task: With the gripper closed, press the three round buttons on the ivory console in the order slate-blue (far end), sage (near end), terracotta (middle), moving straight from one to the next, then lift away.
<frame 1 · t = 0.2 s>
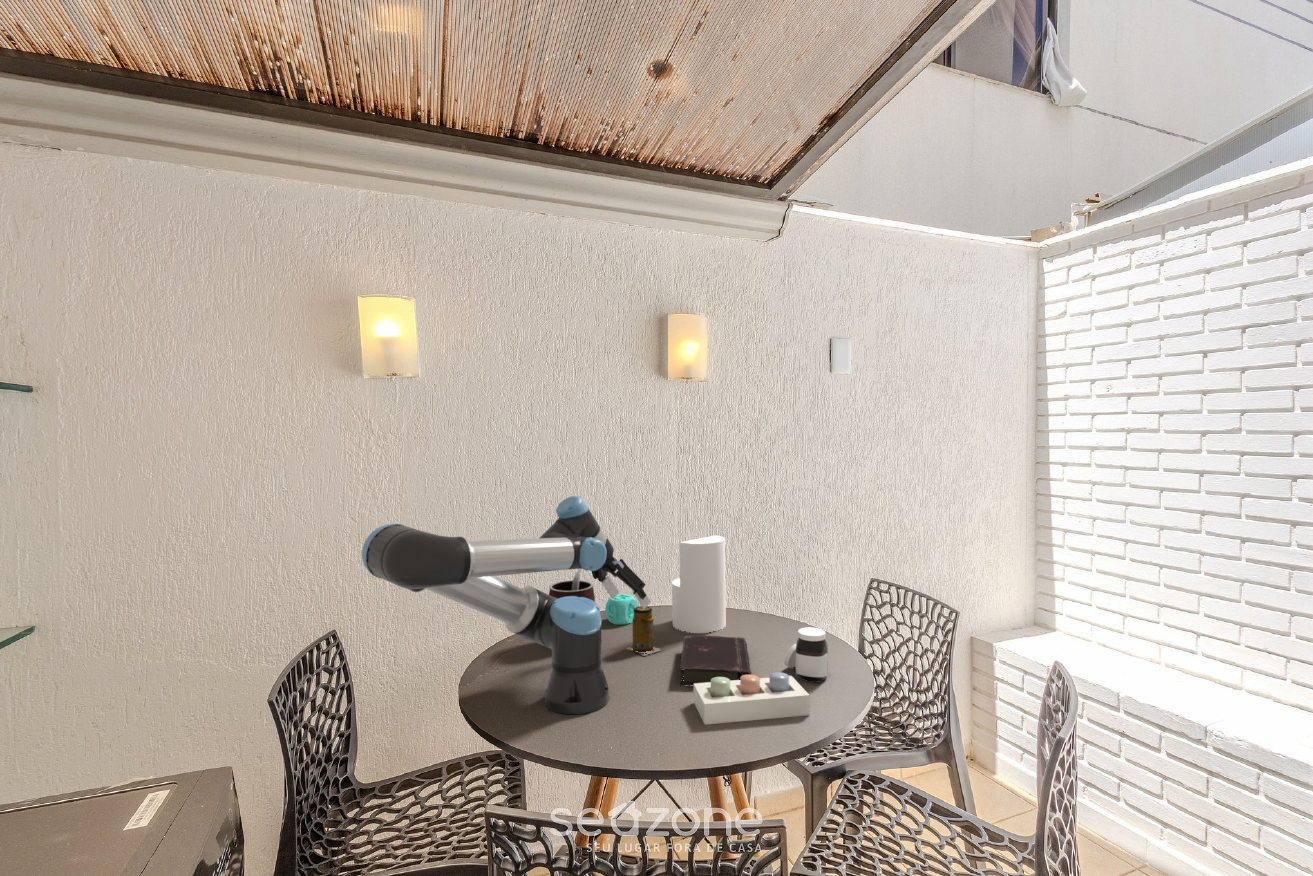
hand: (630, 600, 179), 15 cm above the table, tool tilted 35°, fingers open, 13 cm apart
cylinder: (699, 625, 205), on the table
decorative dice: (621, 621, 210), on the table
console: (750, 708, 144), on the table
slate button: (779, 683, 145), point 5 cm above the table, slide at 0.0 cm
terracotta button: (750, 685, 144), point 5 cm above the table, slide at 0.0 cm
spread jar: (805, 675, 164), on the table
sage button: (720, 688, 143), point 5 cm above the table, slide at 0.0 cm
diary: (714, 669, 169), on the table
condiment: (644, 650, 183), on the table
mate gourd: (573, 641, 191), on the table
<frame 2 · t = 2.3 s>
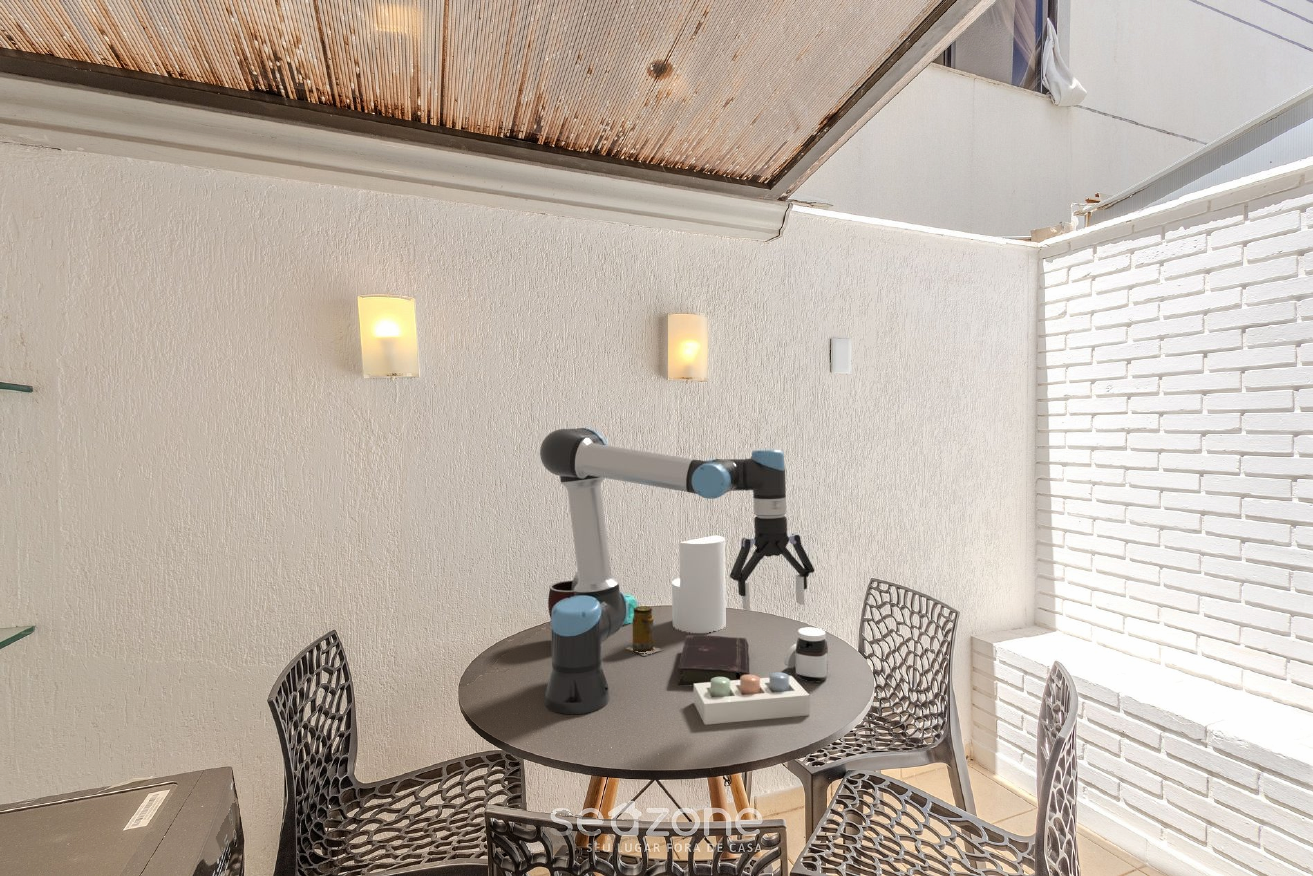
hand: (773, 606, 147), 22 cm above the table, tool pointing down, fingers open, 13 cm apart
nothing on the table moved.
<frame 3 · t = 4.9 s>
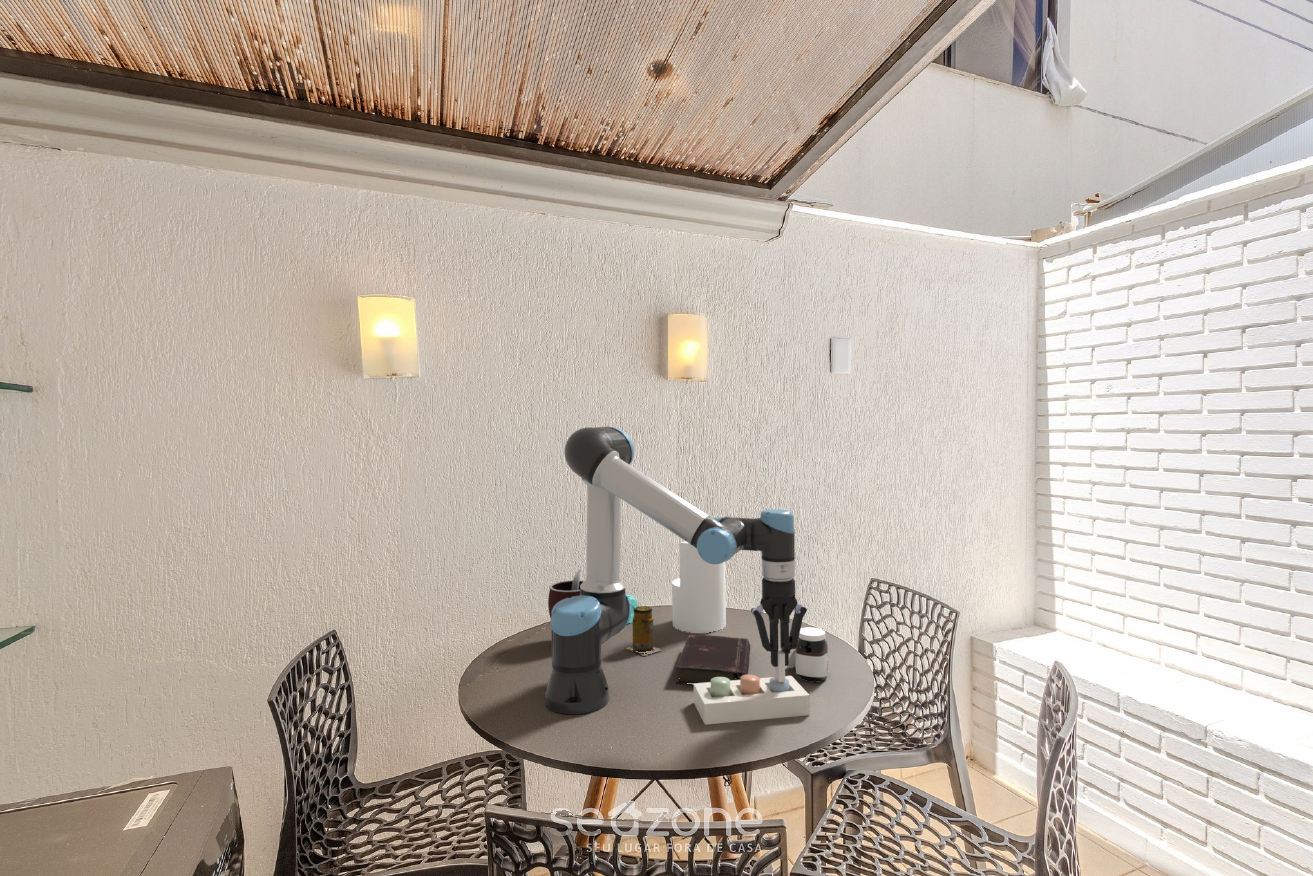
hand: (780, 679, 145), 6 cm above the table, tool pointing down, fingers closed
slate button: (779, 688, 145), point 4 cm above the table, slide at 1.1 cm, touching gripper
everything else where it was.
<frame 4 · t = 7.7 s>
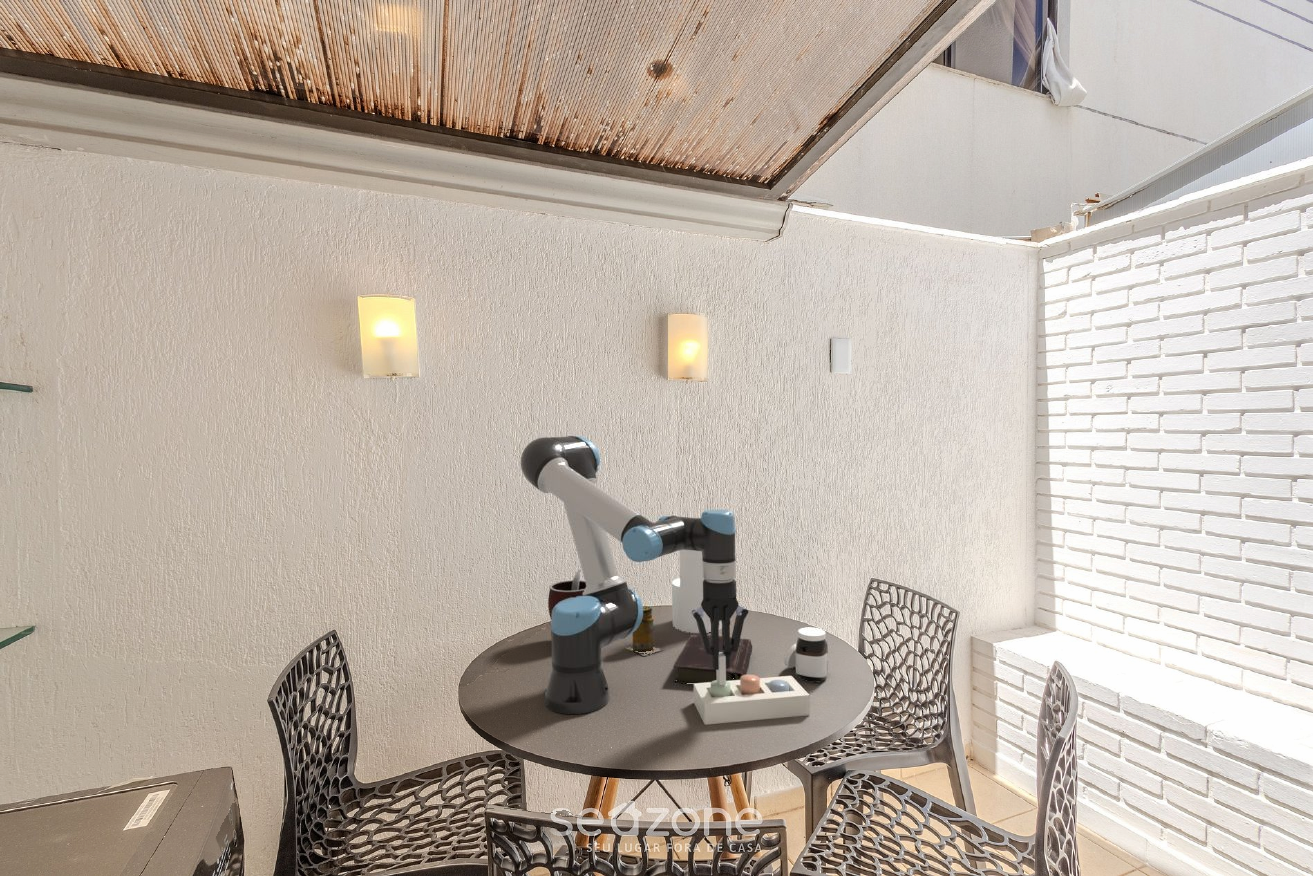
hand: (721, 682, 143), 7 cm above the table, tool pointing down, fingers closed
slate button: (779, 691, 145), point 4 cm above the table, slide at 1.8 cm
sage button: (720, 691, 143), point 5 cm above the table, slide at 0.7 cm, touching gripper
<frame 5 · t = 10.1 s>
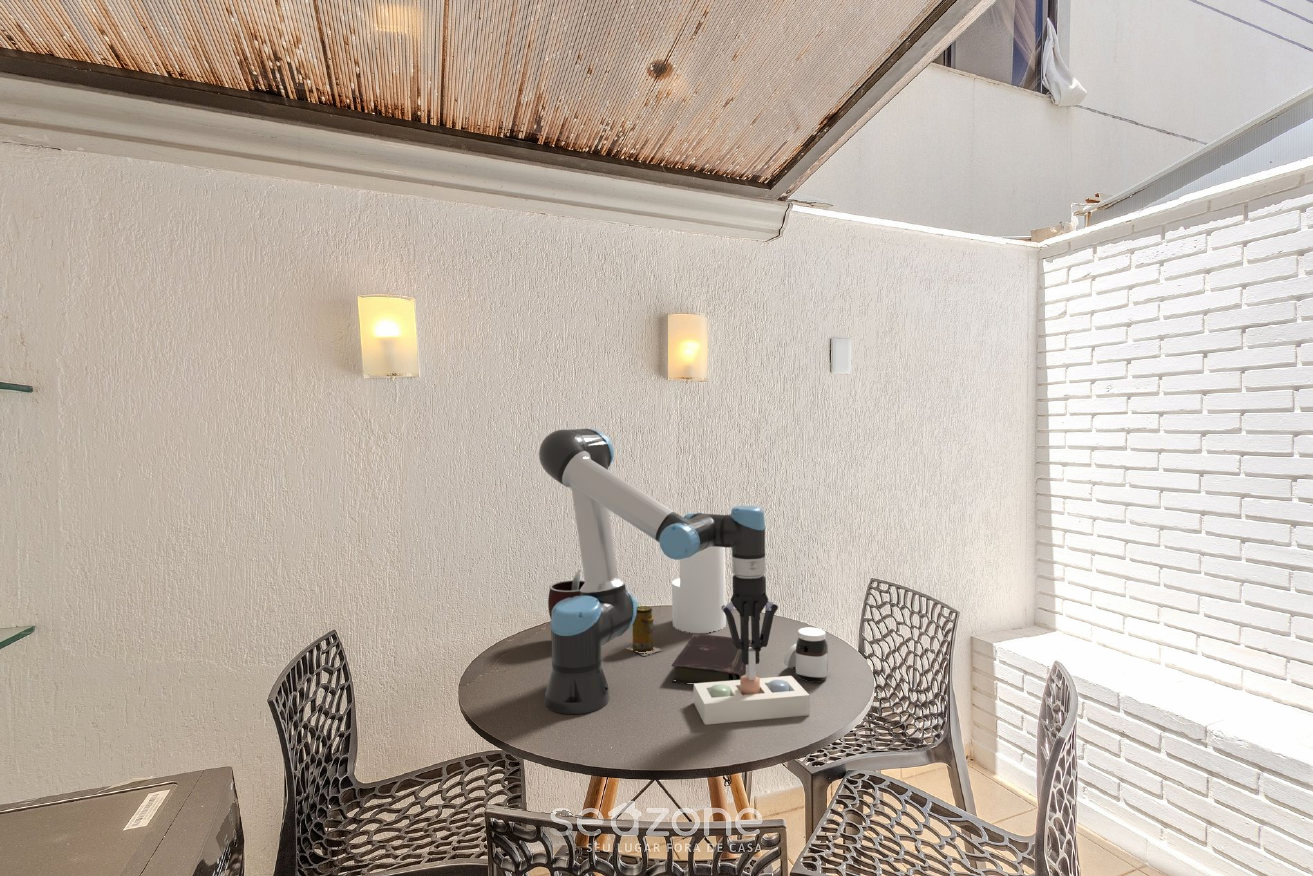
hand: (750, 677, 144), 7 cm above the table, tool pointing down, fingers closed
terracotta button: (750, 686, 144), point 5 cm above the table, slide at 0.1 cm, touching gripper
sage button: (720, 696, 143), point 4 cm above the table, slide at 1.8 cm
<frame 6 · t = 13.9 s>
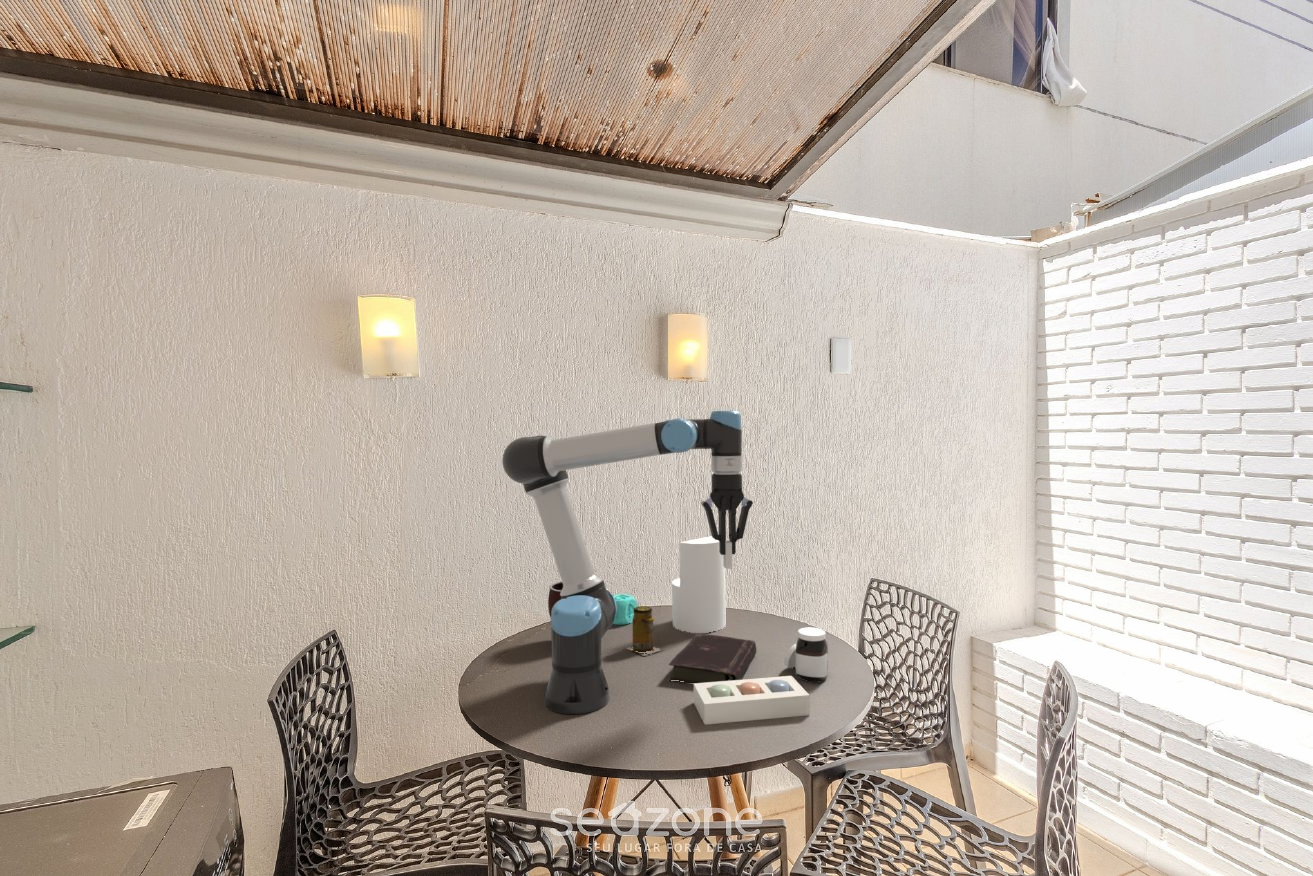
hand: (727, 567, 157), 29 cm above the table, tool pointing down, fingers closed
terracotta button: (750, 693, 144), point 4 cm above the table, slide at 1.8 cm
at the end: slate button slide at 1.8 cm; sage button slide at 1.8 cm; terracotta button slide at 1.8 cm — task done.
